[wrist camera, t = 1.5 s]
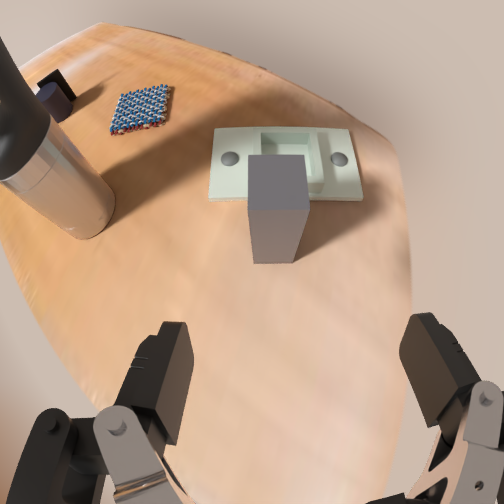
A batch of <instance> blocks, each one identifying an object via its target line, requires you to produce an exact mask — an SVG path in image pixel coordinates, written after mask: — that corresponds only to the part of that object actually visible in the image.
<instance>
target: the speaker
mask: <svg viewBox="0 0 504 504" xmlns="http://www.w3.org/2000/svg"><path fill="white" fill-rule="evenodd" d="M37 85H38V86H39V88H40V90H39V91H38V93H37V94H36V97H37V98H38V99H39V101H40V102H41V103H42V104H43V106H44V107H45V108H46V109H47V111H48V112H49V113H50V115H51V116H52V117H53V118H54V120H55V121H56V122H57V123H59V122H62V121H64V120H65V119H66V118H67V117H68V116H69V114H70V113H71V112H72V107H73V105H72V104H71V101H73V100H74V99H76V98H77V97H76V95H75V94H74V92H73V91H72V89H71V88H70V86H69V85H68V83H67V82H66V80H65V79H64V77H63V76H62V74H61V73H60V71H59V70H58V69H56V70H55V71H53V72H52V73H51V74H49V75H48V76H46V77H45V78H44V79H42V80H41V81H40V82H38V83H37Z"/></svg>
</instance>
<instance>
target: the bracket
mask: <svg viewBox="0 0 504 504" xmlns="http://www.w3.org/2000/svg"><path fill="white" fill-rule="evenodd" d="M268 154H290V155H304V157H305V165H306V173H307V182H308V192H309V200H328V201H362V200H363V198H364V197H363V191H362V186H361V181H360V177H359V172H358V167H357V163H356V158H355V154H354V150H353V146H352V142H351V138H350V134H349V130H348V129H336V128H318V127H281V126H269V127H232V128H215V130H214V140H213V150H212V160H211V172H210V184H209V196H208V198H209V201H210V202H218V201H248V155H268Z"/></svg>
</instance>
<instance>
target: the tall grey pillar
mask: <svg viewBox="0 0 504 504" xmlns="http://www.w3.org/2000/svg"><path fill="white" fill-rule="evenodd" d="M309 212H310V202H309V192H308V182H307V173H306V165H305V157H304V155H290V154H268V155H248V217H249V226H250V235H251V243H252V252H253V260H254V264H274V263H293V260H294V257H295V254H296V251H297V248H298V245H299V242H300V239H301V236H302V233H303V230H304V227H305V224H306V221H307V218H308V215H309Z"/></svg>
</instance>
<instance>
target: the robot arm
mask: <svg viewBox="0 0 504 504" xmlns="http://www.w3.org/2000/svg"><path fill="white" fill-rule="evenodd" d="M0 183H1V184H2V185H3V186H5V187H6V188H7V189H8V190H10V191H11V192H12V193H14V194H15V195H16V196H18V197H19V198H20V199H22V200H23V201H24V202H26V203H27V204H28V205H30V206H31V207H32V208H34V209H35V210H36V211H38V212H39V213H40V214H42V215H43V216H45V217H46V218H47V219H49V220H50V221H52V222H53V223H54V224H56V225H57V226H58V227H60V228H61V229H63V230H64V231H66V232H67V233H69V234H70V235H72V236H73V237H75V238H77V239H88V238H91V237H93V236H95V235H97V234H98V233H99V232H100V231H102V230H103V229H104V227H105V226H106V225H107V224H108V222H109V220H110V219H111V217H112V214H113V212H114V208H115V195H114V193H113V191H112V189H111V188H110V187H109V186H108V185H107V183H106V182H105V181H104V180H103V179H102V178H101V176H100V175H99V174H98V173H97V171H96V170H95V169H94V168H93V167H92V166H91V164H90V163H89V162H88V161H87V160H86V158H85V157H84V156H83V155H82V153H81V152H80V151H79V150H78V149H77V147H76V146H75V145H74V144H73V142H72V141H71V140H70V139H69V137H68V136H67V135H66V134H65V132H64V131H63V130H62V129H61V127H60V126H59V125H58V124H57V122H56V121H55V120H54V118H53V117H52V116H51V115H50V113H49V112H48V111H47V109H46V108H45V107H44V106H43V104H42V103H41V102H40V101H39V99H38V98H37V97H36V95H35V94H34V93H33V91H32V90H31V89H30V87H29V86H28V84H27V83H26V81H25V80H24V78H23V77H22V75H21V73H20V72H19V70H18V68H17V66H16V65H15V63H14V62H13V59H12V58H11V56H10V54H9V52H8V50H7V48H6V47H5V45H4V43H3V41H2V39H1V37H0ZM399 356H400V360H401V362H402V365H403V367H404V369H405V371H406V374H407V376H408V379H409V381H410V383H411V386H412V388H413V391H414V393H415V395H416V398H417V401H418V403H419V406H420V408H421V411H422V413H423V416H424V419H425V421H426V424H427V427H428V428H429V427H432V426H436V425H439V426H440V430H439V431H438V433H437V436H436V439H435V441H434V445H433V447H432V450H431V453H430V455H429V458H428V461H427V463H426V466H425V468H424V470H423V473H422V475H421V476H420V478H419V480H418V481H417V482H416V483H415V485H414V486H413V487H412V489H411V490H410V492H409V494H408V495H407V497H406V498H405V495H404V493H400V494H397V495H393V496H390V497H387V498H382V499H378V500H374V501H370V502H368V503H366V504H495V500H496V497H497V502H498V504H504V391H501V390H500V388H499V387H498V386H497V385H495V384H494V383H492V382H490V381H482V380H481V379H480V377H479V375H478V374H477V372H476V370H475V369H474V367H473V365H472V363H471V362H470V360H469V359H468V357H467V355H466V354H465V352H463V349H462V348H461V346H460V344H458V341H457V339H456V338H455V336H454V335H453V333H452V332H451V331H450V330H448V329H447V328H446V327H445V326H444V325H442V324H439V322H438V321H437V319H436V318H435V316H434V315H433V314H432V313H430V312H428V313H420V314H413V315H412V316H411V317H410V319H409V322H408V325H407V327H406V330H405V333H404V336H403V338H402V341H401V343H400V348H399ZM193 367H194V354H193V350H192V345H191V341H190V337H189V333H188V328H187V325H186V323H185V322H168V321H164V322H163V323H162V325H161V327H160V330H159V332H158V335H157V336H156V335H149V336H148V337H147V338H146V339H145V340H144V341H143V342H142V343H141V344H140V345H139V347H138V350H137V352H136V354H135V358H134V359H133V361H132V363H131V368H129V370H128V372H127V375H126V377H125V380H124V382H123V384H122V387H121V389H120V392H119V394H118V396H117V399H116V401H115V403H114V405H113V406H110V407H107V408H105V409H104V410H102V411H101V412H100V413H99V414H98V415H97V416H96V417H93V418H75V419H70V418H69V417H68V415H67V414H66V413H65V412H64V411H62V410H60V409H57V408H51V409H47V410H45V411H43V412H42V413H41V414H40V415H39V416H38V417H37V419H36V421H35V423H34V425H33V428H32V430H31V432H30V435H29V437H28V440H27V442H26V445H25V447H24V450H23V452H22V455H21V458H20V461H19V463H18V466H17V469H16V472H15V475H14V478H13V481H12V484H11V487H10V491H9V494H8V497H7V501H6V504H100V499H101V495H102V490H103V486H104V482H105V477H106V475H110V476H111V478H112V481H113V483H114V485H115V488H116V491H115V492H114V500H115V503H116V504H195V502H194V501H193V500H192V499H191V497H190V496H189V495H188V493H187V492H186V490H185V489H184V487H183V486H182V484H181V483H180V481H179V479H178V478H177V476H176V475H175V473H174V471H173V470H172V468H171V467H170V465H169V463H168V462H167V460H166V458H165V456H164V455H163V454H164V450H165V446H166V444H169V445H175V446H176V444H177V439H178V434H179V430H180V425H181V421H182V416H183V412H184V407H185V403H186V398H187V394H188V389H189V385H190V381H191V376H192V372H193Z"/></svg>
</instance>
